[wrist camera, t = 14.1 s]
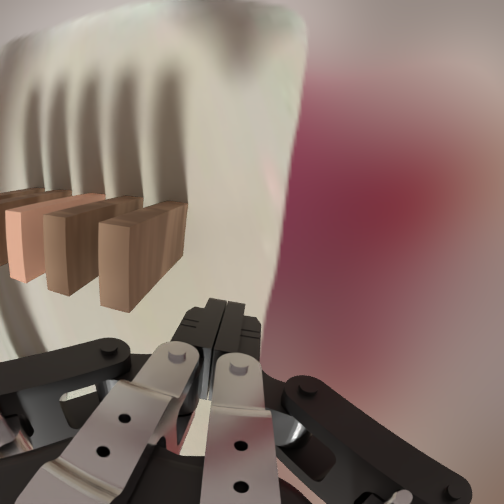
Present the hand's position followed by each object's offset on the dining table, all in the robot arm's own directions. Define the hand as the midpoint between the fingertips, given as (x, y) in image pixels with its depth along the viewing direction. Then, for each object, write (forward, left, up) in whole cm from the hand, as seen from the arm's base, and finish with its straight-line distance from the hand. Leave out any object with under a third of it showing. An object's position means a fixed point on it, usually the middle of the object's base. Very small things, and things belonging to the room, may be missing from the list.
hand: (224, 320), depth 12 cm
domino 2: (-11, 0, -15) cm, 19 cm away
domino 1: (-7, 0, -15) cm, 16 cm away
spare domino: (-16, 0, -15) cm, 22 cm away
